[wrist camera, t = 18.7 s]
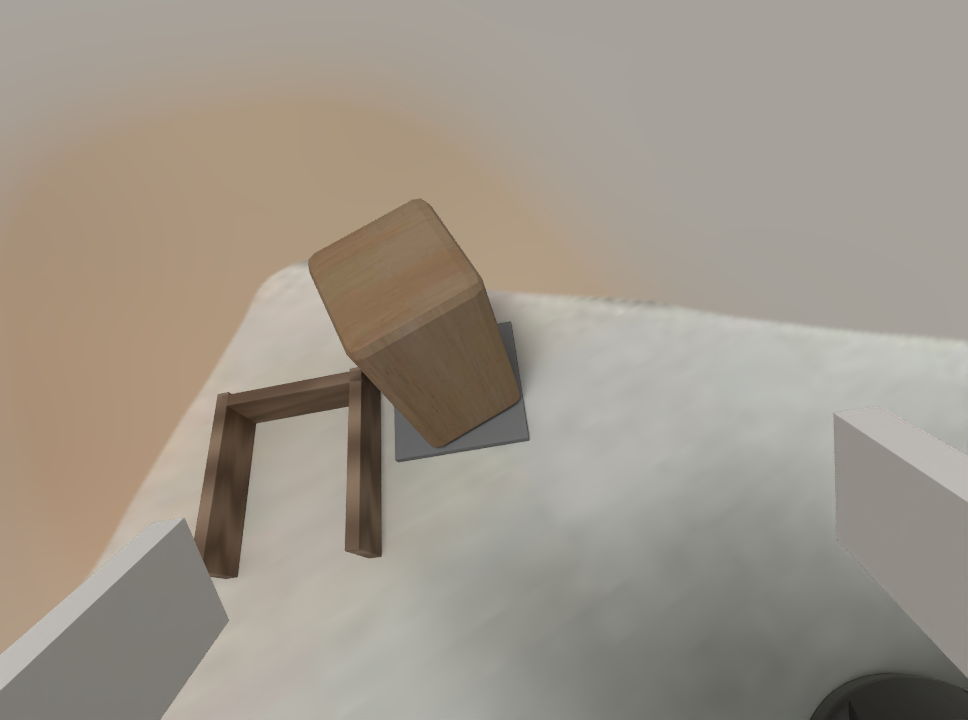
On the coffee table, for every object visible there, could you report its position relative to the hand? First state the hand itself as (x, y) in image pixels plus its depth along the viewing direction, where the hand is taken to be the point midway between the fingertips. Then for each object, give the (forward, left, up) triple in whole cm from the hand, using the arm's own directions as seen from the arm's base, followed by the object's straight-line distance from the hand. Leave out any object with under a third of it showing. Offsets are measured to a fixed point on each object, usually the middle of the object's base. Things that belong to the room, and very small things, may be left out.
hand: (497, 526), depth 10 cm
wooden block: (+20, +8, -35) cm, 41 cm away
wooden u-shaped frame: (+15, +24, -36) cm, 45 cm away
